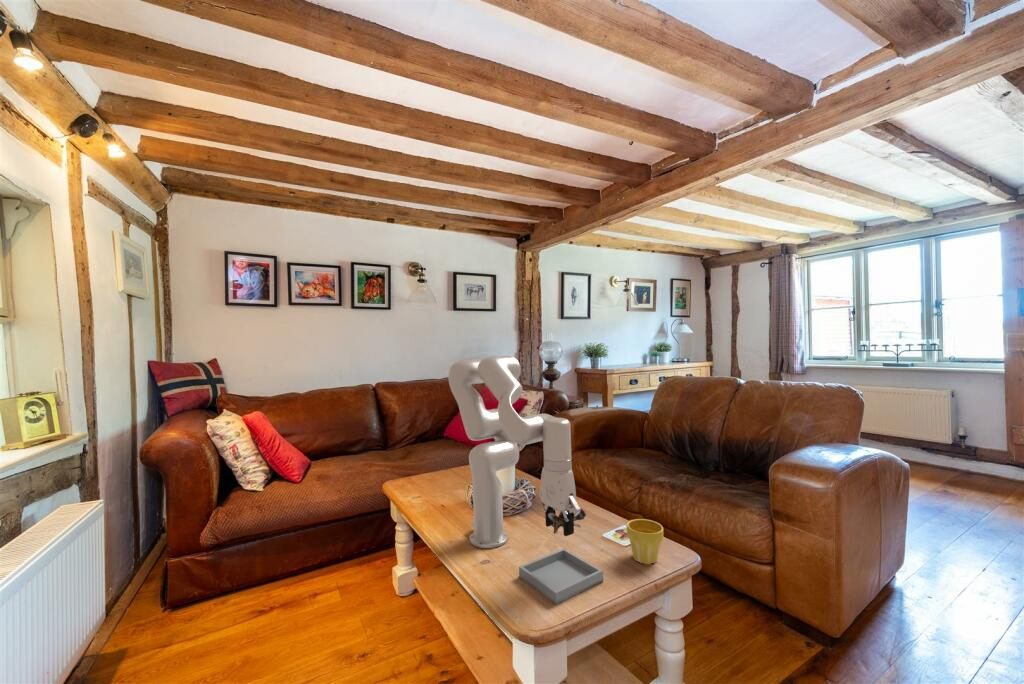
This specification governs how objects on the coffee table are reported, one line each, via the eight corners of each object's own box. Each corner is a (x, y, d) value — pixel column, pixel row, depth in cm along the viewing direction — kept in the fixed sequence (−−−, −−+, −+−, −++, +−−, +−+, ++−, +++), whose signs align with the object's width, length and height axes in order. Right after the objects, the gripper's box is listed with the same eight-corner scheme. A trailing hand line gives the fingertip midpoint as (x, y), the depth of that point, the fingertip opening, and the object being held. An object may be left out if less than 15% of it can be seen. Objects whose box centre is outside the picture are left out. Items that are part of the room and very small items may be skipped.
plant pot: (656, 549, 134) (655, 517, 134) (669, 567, 123) (668, 532, 123) (623, 550, 133) (622, 519, 133) (633, 568, 123) (632, 534, 123)
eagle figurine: (567, 537, 113) (591, 522, 118) (553, 511, 115) (578, 497, 120) (554, 543, 119) (577, 528, 124) (541, 517, 121) (565, 504, 126)
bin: (519, 577, 120) (518, 566, 120) (564, 558, 130) (564, 548, 130) (556, 605, 107) (556, 593, 107) (603, 581, 117) (603, 570, 117)
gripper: (527, 460, 123) (529, 522, 123) (569, 474, 109) (571, 545, 109) (547, 455, 127) (549, 516, 128) (590, 468, 113) (592, 537, 113)
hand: (559, 529), depth 118 cm, fingers closed on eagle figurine, 6 cm apart
